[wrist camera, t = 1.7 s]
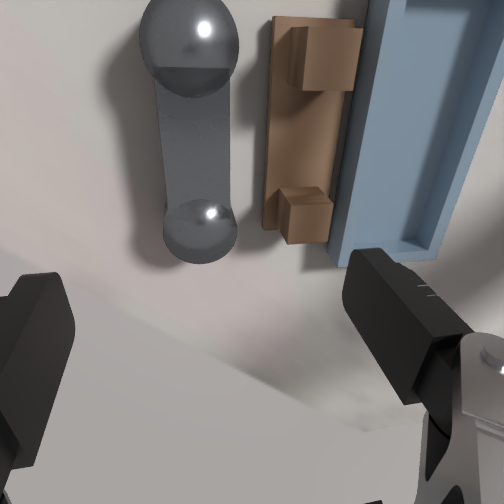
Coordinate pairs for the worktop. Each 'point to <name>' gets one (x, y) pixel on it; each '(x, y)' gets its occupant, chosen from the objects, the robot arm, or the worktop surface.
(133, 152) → the worktop surface
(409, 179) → the slate-blue tray
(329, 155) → the wooden plank with blocks
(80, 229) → the worktop surface
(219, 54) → the steel dumbbell
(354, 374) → the worktop surface
